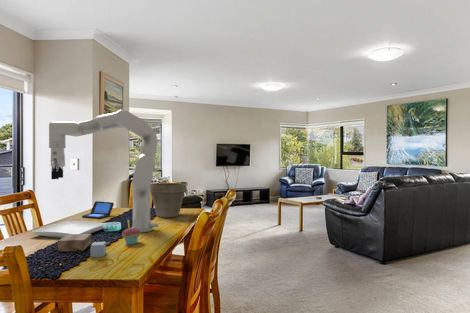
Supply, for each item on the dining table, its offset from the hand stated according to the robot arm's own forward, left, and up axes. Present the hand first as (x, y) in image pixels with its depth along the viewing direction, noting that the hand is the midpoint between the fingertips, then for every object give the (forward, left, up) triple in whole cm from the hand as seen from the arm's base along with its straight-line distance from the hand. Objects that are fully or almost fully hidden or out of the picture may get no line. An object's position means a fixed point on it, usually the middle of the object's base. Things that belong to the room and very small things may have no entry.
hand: (57, 178), depth 171 cm
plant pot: (-55, -44, -30) cm, 77 cm away
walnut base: (-16, +25, -30) cm, 42 cm away
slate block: (-29, +38, -30) cm, 56 cm away
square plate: (-6, -4, -30) cm, 31 cm away
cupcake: (-40, +21, -30) cm, 54 cm away
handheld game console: (-9, -47, -30) cm, 57 cm away
